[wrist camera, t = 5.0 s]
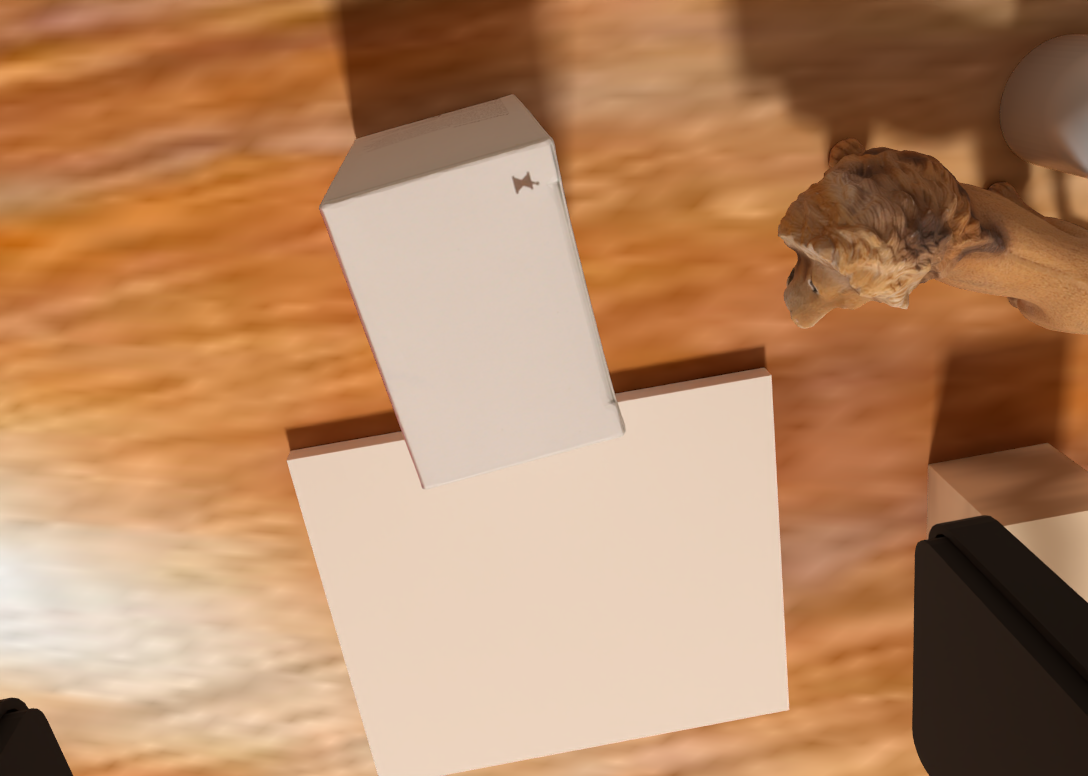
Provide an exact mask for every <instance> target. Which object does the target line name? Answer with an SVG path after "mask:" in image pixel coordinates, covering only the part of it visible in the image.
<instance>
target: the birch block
mask: <svg viewBox="0 0 1088 776" xmlns="http://www.w3.org/2000/svg"><path fill="white" fill-rule="evenodd" d="M981 515H988V516H991V517H993V518H994V519H996V520H997V521H999V522H1000V523H1001V524H1002V525H1003V526H1004V527H1005V528H1006V529H1007V530H1008V531H1010V532H1011V533H1012V534H1013V535H1014V536H1015V537H1016V538H1017V539H1018V540H1019V541H1021V542H1022V543H1023V544H1024V545H1025V546H1026V547H1027V548H1028V549H1029V550H1030V551H1032V552H1033V553H1034V554H1035V555H1036V556H1037V557H1038V558H1039V559H1040V560H1041V561H1043V562H1044V563H1045V564H1046V565H1047V566H1048V567H1049V568H1050V569H1051V570H1052V571H1054V572H1055V573H1056V574H1057V575H1058V576H1059V577H1060V578H1061V579H1062V580H1063V581H1065V582H1066V583H1067V584H1068V585H1069V586H1070V587H1071V588H1072V589H1073V590H1074V591H1076V592H1077V593H1078V594H1079V595H1080V596H1081V597H1082V598H1083V599H1084V600H1085V601H1087V602H1088V471H1086V470H1085V469H1083V468H1082V467H1081V466H1079V465H1078V464H1076V463H1075V462H1074V461H1072V460H1071V459H1069V458H1068V457H1067V456H1065V455H1064V454H1062V453H1061V452H1060V451H1058V450H1057V449H1055V448H1054V447H1053V446H1051V445H1050V444H1048V443H1044V444H1039V445H1033V446H1028V447H1022V448H1017V449H1011V450H1005V451H1000V452H994V453H989V454H983V455H978V456H972V457H967V458H961V459H956V460H950V461H945V462H939V463H933V464H928V495H927V540H928V537H929V532H930V530H931V528H932V526H934V525H936V524H939V523H944V522H949V521H955V520H960V519H965V518H971V517H976V516H981Z"/></svg>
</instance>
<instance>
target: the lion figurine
mask: <svg viewBox="0 0 1088 776" xmlns="http://www.w3.org/2000/svg"><path fill="white" fill-rule="evenodd" d="M829 166H830V167H831V168H830V169H829V170H827V171H826V172H825V173H824V178H823V179H822V180H821V181H819V182H818V183H815V184H812V185H811V186H810V187H809V189H808V190H807V191H805V192H803V193H801V194H799V196H798V199H797V200H796V201H794V202H793V203H792V204H791V205H790V207H789V208H788V210H787V212H786V215H785V216H784V217H783V218H782V220H781V223H780V225H779V228H778V236H779V237H781V238H782V239H783V240H784V243H785V244H786V245H787V246H788V247H789V248H791V249H793V250H794V251H795V252H796V253H797V255H798V261H797V264H796V266H795V267H794V268H793V270H792V271H791V274H790V276H789V277H788V279H787V288H786V289H785V291H784V301H785V303H786V306H787V307H788V309H789V311H790V312H791V319H792V320H793V321H794V323H795V324H796V325H797V326H798V327H800V328H810V327H812V326H814V325H815V324H816V323H817V322H818V321H819V320H820V319H821V318H823V317H824V316H825V315H826V314H827V313H828V312H829V311H831V310H832V309H834V308H842V309H857V308H859V307H861V306H862V305H863V304H865V303H867V302H869V301H877V302H880V303H886V304H888V305H889V306H892V307H899V308H901V309H907V308H908V305H909V294H910V293H911V292H912V291H913V290H914V289H915V288H916V287H917V286H918V285H919V284H920V283H925V282H927V281H928V280H930V279H935V280H938V281H940V282H943V283H945V284H948V285H950V286H953V287H957V288H960V289H965V290H969V291H974V292H979V293H985V294H991V295H997V296H1005V297H1007V298H1008V299H1009V302H1010V303H1011V305H1012V306H1014V307H1016V308H1018V309H1019V310H1020V312H1021V313H1022V314H1023V316H1024V317H1025V318H1027V319H1028V320H1029V321H1031V322H1033V323H1035V324H1037V325H1039V326H1041V327H1044V328H1046V329H1049V330H1054V331H1060V332H1067V333H1074V334H1084V335H1088V230H1086V229H1084V228H1082V227H1080V226H1078V225H1075V224H1073V223H1070V222H1067V221H1065V220H1062V219H1058V218H1052V217H1044V216H1043V215H1041V214H1039V213H1038V212H1036V211H1035V210H1033V209H1032V208H1030V207H1029V206H1028V205H1026V204H1025V203H1024V202H1023V201H1022V199H1021V198H1020V197H1019V195H1018V194H1017V192H1016V191H1015V189H1014V187H1013V186H1012V185H1010V184H1008V183H1006V182H998V183H995V184H993V185H992V186H990V188H989V189H988V190H986V189H983V188H980V187H976V186H973V185H969V184H964V183H959V182H958V181H957V180H956V178H955V177H954V176H953V175H952V174H951V173H950V172H949V171H948V170H947V169H946V168H945V167H944V166H943V165H942V164H941V163H940V162H939V161H938V160H937V159H936V158H934V157H932V156H929V155H925V154H921V153H918V152H914V151H907V150H904V151H897V150H893V149H889V148H885V147H879V148H872V149H869V150H867V151H866V150H865V148H864V147H863V146H862V144H861V143H860V142H859V141H858V140H856V139H853V138H848V139H845V140H842V141H840V142H838V143H837V144H836V145H835V146H834V147H833V148H832V149H831V152H830V158H829Z"/></svg>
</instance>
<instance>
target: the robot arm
mask: <svg viewBox="0 0 1088 776" xmlns="http://www.w3.org/2000/svg"><path fill="white" fill-rule="evenodd" d="M912 731H913V739H914V744H915V747H916V750H917V753H918V756H919V758H920V760H921V762H922V764H923V766H924V768H925V770H926V771H927V773H928V774H929V776H1088V602H1087V601H1085V600H1084V599H1083V598H1082V597H1081V596H1080V595H1079V594H1078V593H1077V592H1076V591H1074V590H1073V589H1072V588H1071V587H1070V586H1069V585H1068V584H1067V583H1066V582H1065V581H1063V580H1062V579H1061V578H1060V577H1059V576H1058V575H1057V574H1056V573H1055V572H1054V571H1052V570H1051V569H1050V568H1049V567H1048V566H1047V565H1046V564H1045V563H1044V562H1043V561H1041V560H1040V559H1039V558H1038V557H1037V556H1036V555H1035V554H1034V553H1033V552H1032V551H1030V550H1029V549H1028V548H1027V547H1026V546H1025V545H1024V544H1023V543H1022V542H1021V541H1019V540H1018V539H1017V538H1016V537H1015V536H1014V535H1013V534H1012V533H1011V532H1010V531H1008V530H1007V529H1006V528H1005V527H1004V526H1003V525H1002V524H1001V523H1000V522H999V521H997V520H996V519H994V518H993V517H991V516H988V515H981V516H976V517H971V518H965V519H960V520H955V521H949V522H944V523H939V524H936V525H934V526H932V528H931V530H930V532H929V537H928V540H923V541H920V542H918V544H917V546H916V550H915V586H914V652H913V718H912ZM0 776H73V775H72V772H71V770H70V768H69V766H68V764H67V762H66V759H65V757H64V755H63V753H62V751H61V749H60V747H59V744H58V742H57V740H56V738H55V736H54V734H53V731H52V729H51V727H50V725H49V723H48V721H47V719H46V717H45V715H44V714H43V712H41V711H40V710H39V709H34V708H32V709H28V707H27V706H26V704H25V703H24V702H23V701H21V700H20V699H18V698H7V699H2V700H0Z"/></svg>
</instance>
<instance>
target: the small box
mask: <svg viewBox="0 0 1088 776" xmlns="http://www.w3.org/2000/svg"><path fill="white" fill-rule="evenodd" d="M319 210H320V212H321V215H322V217H323V220H324V223H325V225H326V228H327V231H328V234H329V236H330V239H331V242H332V244H333V247H334V250H335V252H336V255H337V258H338V260H339V263H340V266H341V269H342V271H343V274H344V277H345V280H346V282H347V285H348V288H349V290H350V293H351V296H352V299H353V301H354V304H355V307H356V309H357V312H358V315H359V318H360V320H361V323H362V326H363V328H364V331H365V334H366V337H367V339H368V342H369V344H370V347H371V350H372V352H373V355H374V358H375V361H376V364H377V366H378V369H379V372H380V374H381V377H382V380H383V383H384V385H385V388H386V391H387V393H388V396H389V399H390V401H391V404H392V407H393V410H394V412H395V415H396V418H397V420H398V423H399V426H400V429H401V431H402V434H403V437H404V440H405V442H406V445H407V448H408V450H409V453H410V456H411V458H412V461H413V463H414V466H415V469H416V471H417V474H418V477H419V480H420V483H421V486H422V489H425V490H428V489H431V488H435V487H438V486H442V485H446V484H449V483H453V482H457V481H460V480H464V479H468V478H471V477H475V476H479V475H482V474H486V473H490V472H493V471H497V470H501V469H505V468H508V467H512V466H516V465H519V464H523V463H527V462H530V461H534V460H538V459H541V458H545V457H549V456H552V455H556V454H560V453H564V452H567V451H571V450H575V449H578V448H582V447H586V446H589V445H593V444H597V443H600V442H604V441H608V440H611V439H615V438H619V437H622V436H623V435H624V434H625V432H626V428H625V423H624V420H623V418H622V415H621V412H620V408H619V405H618V402H617V399H616V395H615V392H614V389H613V385H612V382H611V378H610V374H609V371H608V367H607V363H606V360H605V356H604V352H603V348H602V344H601V340H600V337H599V333H598V329H597V325H596V321H595V317H594V313H593V309H592V305H591V301H590V298H589V294H588V290H587V286H586V282H585V278H584V274H583V270H582V266H581V262H580V258H579V254H578V250H577V246H576V242H575V238H574V233H573V229H572V225H571V221H570V217H569V212H568V208H567V203H566V199H565V194H564V189H563V184H562V180H561V175H560V170H559V165H558V160H557V156H556V149H555V144H554V141H553V139H552V137H550V136H549V135H548V133H547V132H546V131H545V130H544V129H543V127H542V126H541V125H540V124H539V123H538V121H537V120H536V119H535V118H534V116H533V115H532V114H531V113H530V112H529V110H528V109H527V108H526V107H525V106H524V105H523V103H522V102H521V101H520V100H519V99H518V98H517V97H516V96H515V95H513V94H511V95H508V96H505V97H502V98H499V99H495V100H492V101H488V102H485V103H481V104H477V105H474V106H470V107H466V108H463V109H459V110H456V111H452V112H448V113H445V114H441V115H438V116H434V117H431V118H427V119H424V120H420V121H417V122H413V123H410V124H406V125H403V126H399V127H395V128H392V129H388V130H385V131H381V132H378V133H374V134H371V135H367V136H364V137H361V138H358V139H356V140H355V141H354V144H353V145H352V147H351V149H350V151H349V152H348V154H347V156H346V157H345V160H344V162H343V163H342V165H341V167H340V169H339V171H338V173H337V174H336V176H335V178H334V180H333V182H332V183H331V185H330V187H329V189H328V191H327V193H326V195H325V196H324V198H323V200H322V202H321V204H320V206H319Z"/></svg>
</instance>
